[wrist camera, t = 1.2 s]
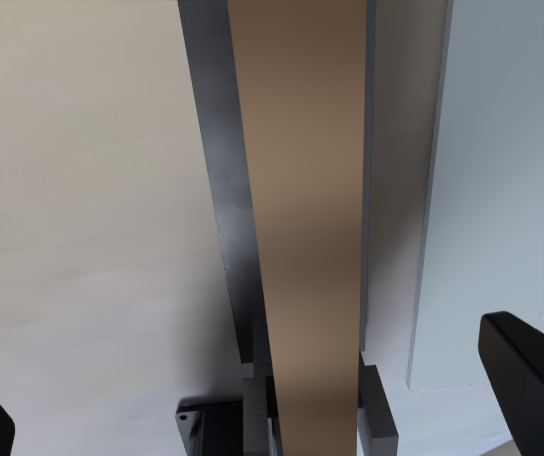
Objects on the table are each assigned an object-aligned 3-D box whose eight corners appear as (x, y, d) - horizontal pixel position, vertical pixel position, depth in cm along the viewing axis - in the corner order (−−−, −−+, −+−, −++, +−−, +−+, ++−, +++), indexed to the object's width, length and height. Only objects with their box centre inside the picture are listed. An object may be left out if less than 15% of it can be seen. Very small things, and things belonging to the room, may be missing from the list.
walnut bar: (342, 422, 22) (355, 483, 20) (282, 429, 22) (288, 490, 20) (339, -262, 10) (373, -335, 7) (201, -248, 10) (188, -316, 7)
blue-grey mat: (515, 372, 29) (520, 379, 28) (406, 383, 29) (409, 391, 28) (670, -155, 15) (684, -158, 15) (461, -134, 15) (469, -136, 15)
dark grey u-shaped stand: (360, 337, 26) (405, 484, 19) (241, 350, 26) (241, 501, 19) (373, -184, 14) (508, -316, 7) (153, -162, 14) (63, -272, 7)
